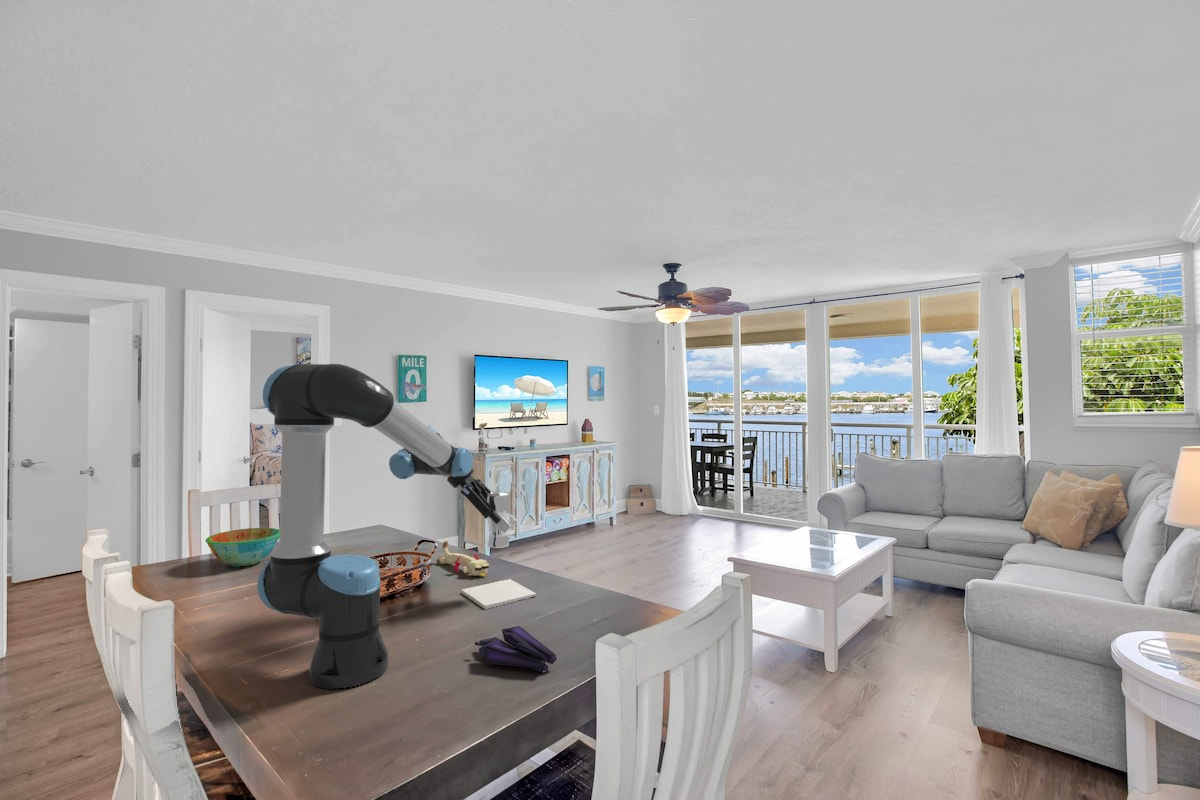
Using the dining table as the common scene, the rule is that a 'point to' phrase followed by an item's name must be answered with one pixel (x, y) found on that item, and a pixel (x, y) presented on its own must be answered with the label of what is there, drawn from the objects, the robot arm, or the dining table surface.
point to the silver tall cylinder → (503, 507)
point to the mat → (497, 593)
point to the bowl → (243, 545)
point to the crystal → (516, 650)
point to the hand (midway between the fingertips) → (510, 526)
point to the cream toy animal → (464, 562)
